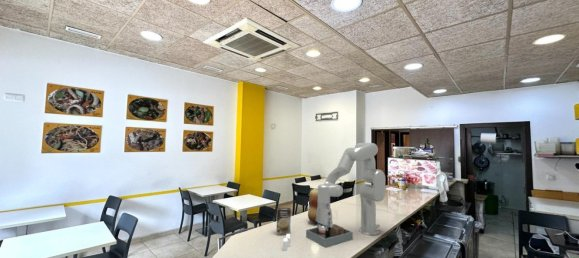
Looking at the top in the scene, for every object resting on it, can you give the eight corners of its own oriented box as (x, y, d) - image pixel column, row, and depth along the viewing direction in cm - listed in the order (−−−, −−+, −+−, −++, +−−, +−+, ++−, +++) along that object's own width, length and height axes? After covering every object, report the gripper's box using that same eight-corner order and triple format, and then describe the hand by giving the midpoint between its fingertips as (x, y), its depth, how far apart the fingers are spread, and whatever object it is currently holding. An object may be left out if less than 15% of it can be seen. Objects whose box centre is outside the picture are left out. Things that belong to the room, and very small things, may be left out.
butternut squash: (304, 224, 176) (305, 189, 178) (311, 219, 188) (312, 186, 190) (322, 227, 170) (322, 191, 171) (328, 222, 182) (328, 188, 183)
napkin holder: (287, 240, 148) (287, 231, 148) (301, 246, 140) (301, 236, 141) (269, 248, 137) (269, 238, 137) (283, 254, 129) (284, 243, 130)
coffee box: (276, 235, 155) (276, 209, 156) (276, 231, 161) (276, 207, 162) (290, 235, 155) (290, 209, 156) (290, 231, 161) (290, 207, 162)
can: (324, 234, 152) (324, 222, 152) (331, 237, 146) (331, 225, 147) (316, 236, 148) (316, 224, 148) (323, 239, 143) (323, 227, 143)
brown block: (334, 233, 157) (334, 224, 158) (343, 237, 151) (343, 227, 151) (327, 235, 154) (327, 225, 154) (336, 239, 147) (336, 229, 148)
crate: (332, 231, 163) (332, 223, 163) (352, 240, 148) (352, 232, 148) (306, 238, 151) (306, 229, 151) (325, 248, 136) (325, 239, 136)
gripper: (338, 207, 143) (338, 238, 142) (319, 201, 157) (319, 229, 156) (329, 209, 139) (329, 241, 138) (310, 203, 153) (310, 231, 152)
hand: (323, 234), depth 147 cm, fingers closed on can, 6 cm apart
